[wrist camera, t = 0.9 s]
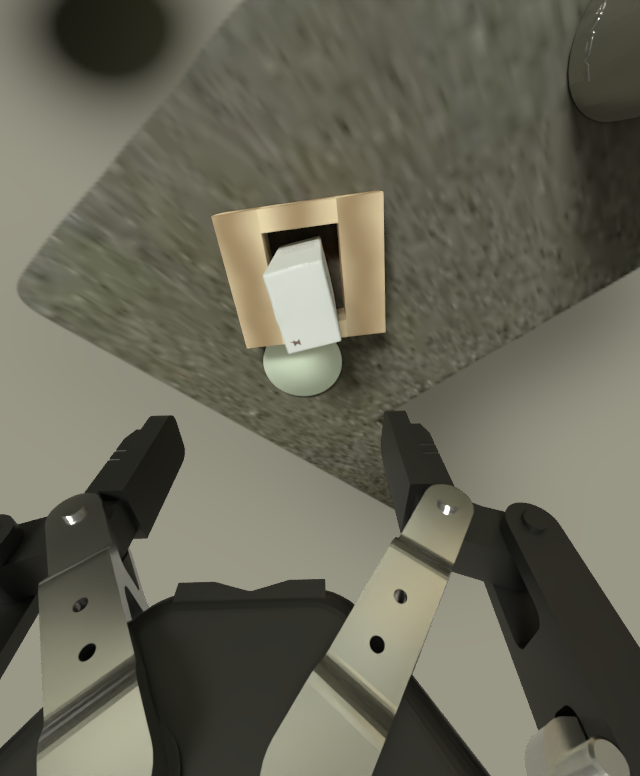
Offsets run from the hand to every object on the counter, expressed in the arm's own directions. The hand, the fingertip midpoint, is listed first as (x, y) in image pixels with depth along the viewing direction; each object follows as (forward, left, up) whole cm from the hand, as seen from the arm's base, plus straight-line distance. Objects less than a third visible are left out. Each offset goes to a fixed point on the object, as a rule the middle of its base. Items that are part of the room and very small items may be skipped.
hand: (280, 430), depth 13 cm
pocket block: (-1, -1, -24) cm, 24 cm away
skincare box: (-1, -1, -24) cm, 24 cm away
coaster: (+1, +9, -24) cm, 26 cm away
